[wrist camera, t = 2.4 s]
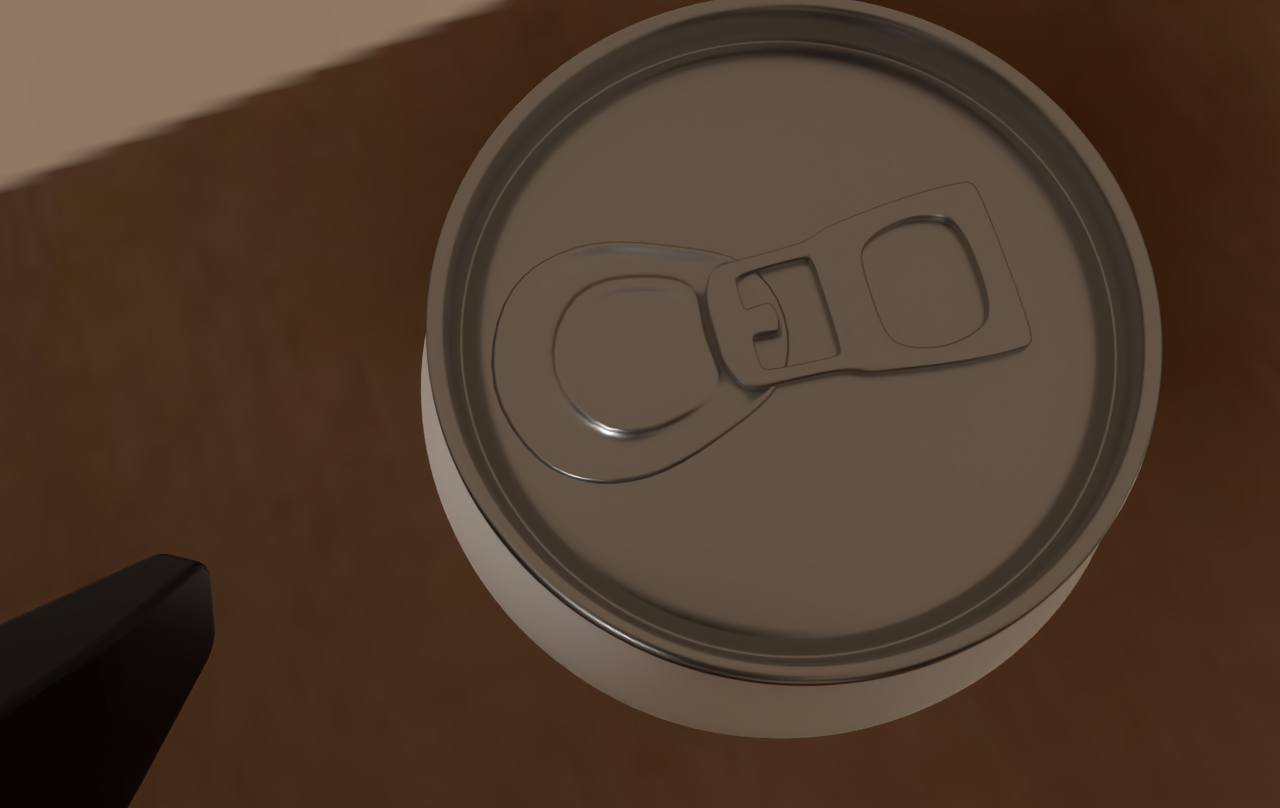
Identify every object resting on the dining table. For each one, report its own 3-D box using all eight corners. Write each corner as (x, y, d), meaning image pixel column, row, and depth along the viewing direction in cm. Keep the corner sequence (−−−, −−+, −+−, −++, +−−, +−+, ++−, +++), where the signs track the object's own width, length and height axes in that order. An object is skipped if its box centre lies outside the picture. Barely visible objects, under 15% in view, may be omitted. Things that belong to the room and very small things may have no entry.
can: (513, 417, 20) (306, 43, 9) (833, 339, 20) (1049, -127, 9) (589, 760, 18) (457, 860, 7) (939, 668, 19) (1375, 620, 7)
